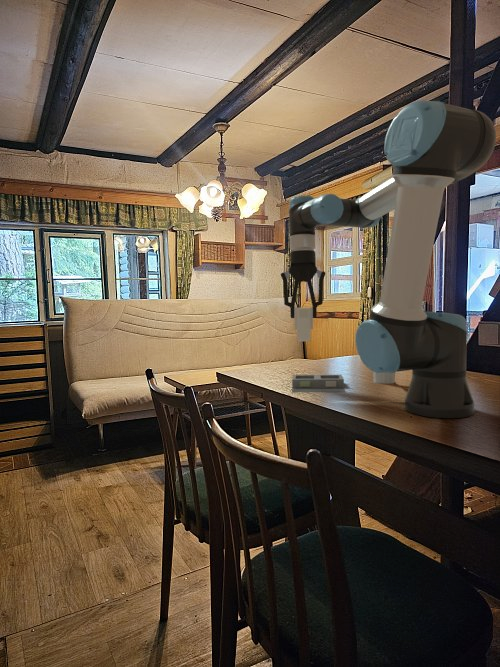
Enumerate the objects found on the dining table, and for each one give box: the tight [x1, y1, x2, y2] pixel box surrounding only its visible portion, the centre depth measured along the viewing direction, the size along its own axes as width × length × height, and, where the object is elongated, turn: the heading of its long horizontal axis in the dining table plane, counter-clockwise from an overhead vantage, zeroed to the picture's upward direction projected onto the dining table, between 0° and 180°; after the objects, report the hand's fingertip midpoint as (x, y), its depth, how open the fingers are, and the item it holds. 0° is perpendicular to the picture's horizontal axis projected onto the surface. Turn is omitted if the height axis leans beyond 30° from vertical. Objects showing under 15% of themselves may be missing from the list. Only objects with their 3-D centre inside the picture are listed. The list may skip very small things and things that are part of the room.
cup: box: [372, 371, 396, 385], centre depth 134 cm, size 8×8×12 cm
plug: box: [296, 306, 312, 342], centre depth 131 cm, size 5×4×10 cm
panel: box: [291, 374, 346, 393], centre depth 132 cm, size 20×15×4 cm
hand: (303, 328), depth 131 cm, fingers closed on plug, 4 cm apart
